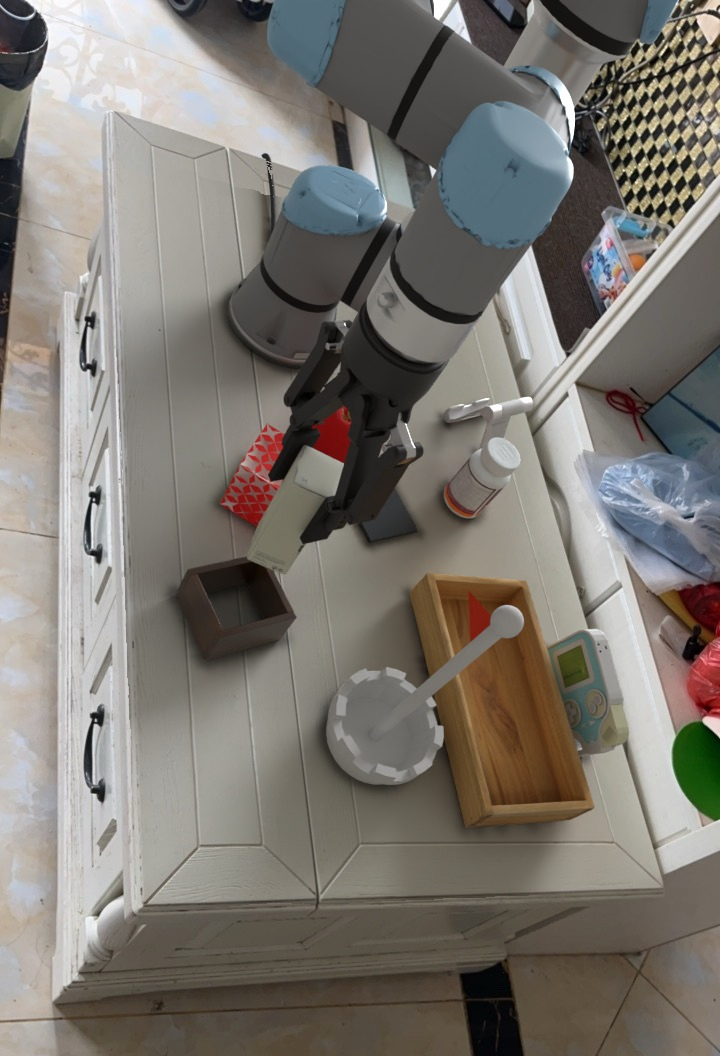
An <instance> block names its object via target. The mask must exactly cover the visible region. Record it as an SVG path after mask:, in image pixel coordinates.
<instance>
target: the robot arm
mask: <svg viewBox="0 0 720 1056" xmlns="http://www.w3.org/2000/svg"><path fill="white" fill-rule="evenodd" d="M679 1H680V0H532V3H533V13H532V15H531V17H530V18H529V20H528V22H527V24H526V25H525V27H524V29H523V31H522V33H521V34H520V36H519V38H518V40H517V42H516V43H515V45H514V47H513V49H512V50H511V52H510V54H509V55H508V57H507V59H506V61H505V63H504V65H502V64H500V63H499V62H498V61H496V60H495V59H494V58H492V57H491V56H489V55H488V54H486V53H485V52H484V51H482V50H481V49H480V48H478V47H477V46H476V45H474V44H473V43H471V42H470V41H468V40H467V39H466V38H464V37H463V36H462V35H460V34H458V33H457V32H456V31H455V30H454V29H453V28H451V27H450V26H448V25H446V24H445V23H444V22H445V20H446V19H447V17H448V16H449V15H450V13H451V12H452V10H453V9H454V7H455V6H456V4H458V2H459V0H273V3H272V6H271V10H270V13H269V17H268V21H267V28H266V29H267V30H266V39H267V44H268V47H269V49H270V52H271V53H272V54H273V56H274V57H275V58H277V59H278V60H279V61H280V62H282V63H283V64H284V65H285V66H287V67H288V68H289V69H290V70H292V71H293V72H294V73H296V74H297V75H298V76H300V77H301V78H302V79H303V80H305V82H306V84H307V86H309V87H310V88H313V89H314V88H315V89H316V90H318V91H320V92H321V93H323V94H324V95H325V96H327V97H329V99H332V100H333V101H335V102H336V103H337V104H339V105H340V106H342V107H344V108H345V109H346V110H348V111H350V112H351V113H352V114H354V115H356V116H357V117H358V118H360V119H362V120H363V121H365V122H366V123H368V124H369V125H371V126H372V127H373V128H375V129H376V130H378V131H380V132H381V133H383V134H384V135H385V136H386V137H388V138H389V139H390V140H392V141H394V142H395V143H397V144H398V145H399V146H401V147H402V148H404V149H405V150H407V152H409V153H411V154H412V155H414V156H415V157H417V158H418V159H419V160H421V161H422V162H424V164H426V165H428V166H430V167H431V168H432V169H434V170H435V172H434V174H433V175H432V178H431V180H430V181H429V183H428V185H427V187H426V188H425V191H424V192H423V193H422V196H421V197H420V200H419V202H418V204H417V206H416V207H415V210H414V211H412V212H409V213H407V214H406V215H405V216H404V217H403V219H402V221H401V223H400V224H399V223H397V222H396V221H394V220H393V219H391V217H389V216H387V214H388V213H387V212H388V203H387V199H386V197H385V195H384V193H382V192H380V188H379V186H378V185H377V184H375V183H374V182H373V181H372V180H371V179H369V178H368V177H366V176H364V175H363V174H361V173H359V172H356V171H355V170H352V169H351V168H350V169H349V168H346V167H343V166H338V165H332V164H329V165H324V164H323V165H320V164H319V165H314V166H311V167H308V168H306V169H304V170H303V171H301V172H300V173H299V174H298V175H297V176H296V178H295V179H294V181H293V183H292V185H291V187H290V189H289V191H288V193H287V195H285V197H284V199H283V201H282V203H281V208H280V209H281V210H280V212H279V214H278V217H277V199H276V198H277V197H276V188H275V180H274V173H273V174H272V179H271V175H270V173H269V170H268V167H270V170H273V163H272V164H271V163H268V162H266V161H269V162H272V158H271V156H270V154H268V153H267V152H264V153H262V154H261V155H260V156H261V158H262V159H264V160H265V163H266V169H267V179H268V187H269V198H270V200H269V201H270V237H269V239H268V242H267V245H266V246H265V249H264V252H263V254H262V257H261V258H260V261H259V262H258V263H257V264H256V266H254V267H253V268H252V269H251V271H250V272H249V273H248V274H247V275H246V277H245V278H243V279H242V280H241V281H240V282H239V283H238V284H237V286H236V287H235V288H234V289H233V291H232V293H231V296H230V298H229V302H228V305H227V316H228V320H229V324H230V326H231V328H232V330H233V332H234V333H235V335H236V336H237V337H238V339H239V340H240V341H241V342H242V343H243V344H244V345H245V347H247V348H248V349H249V350H250V351H252V352H253V353H254V354H255V355H257V356H259V357H261V358H262V359H264V360H266V361H268V362H270V363H272V364H275V365H278V366H281V367H286V368H292V369H299V370H298V372H297V373H296V375H295V377H294V378H293V380H292V381H291V383H290V385H289V386H288V388H287V389H286V391H285V392H284V395H283V404H284V406H285V407H286V408H290V411H291V415H290V416H289V425H288V427H287V429H286V430H285V433H284V434H285V435H284V436H283V438H282V443H281V444H282V446H283V448H282V450H281V452H280V454H279V456H278V458H277V459H276V461H275V463H274V465H273V467H272V468H271V470H270V472H269V474H268V476H269V478H270V480H271V482H272V481H278V480H283V479H284V478H285V476H286V475H287V473H288V471H289V469H290V467H291V466H292V464H293V462H294V460H295V459H296V457H297V455H298V454H299V452H300V450H301V449H302V447H303V446H304V445H307V446H309V447H311V448H313V447H314V445H315V444H316V442H317V440H318V439H319V437H320V435H321V434H320V432H319V430H318V428H312V427H313V426H314V425H321V424H325V423H323V422H322V421H324V420H325V419H327V418H328V417H329V416H331V415H332V414H333V413H335V412H336V411H338V410H339V409H340V408H342V407H343V406H345V407H346V408H347V410H348V411H349V414H350V417H351V420H352V421H351V424H350V428H349V431H348V438H349V439H350V440H351V441H350V445H349V448H348V452H347V455H346V459H345V462H344V466H343V469H342V473H341V476H340V480H339V483H338V487H337V490H336V494H335V495H334V496H329V497H326V498H325V500H324V501H323V503H322V504H321V506H320V507H319V509H318V510H317V512H316V513H315V515H314V516H313V518H312V519H311V521H310V522H309V524H308V525H307V527H306V528H305V530H304V531H303V533H302V534H301V536H300V537H299V538H300V540H301V542H302V544H306V545H308V544H312V543H315V542H316V543H317V542H321V541H324V540H327V539H328V538H329V537H330V535H331V534H332V533H333V532H334V531H338V530H342V529H345V526H346V525H347V524H348V525H349V526H352V525H353V526H354V525H357V524H359V523H363V522H367V521H372V520H375V519H376V517H377V516H378V514H379V513H380V511H381V509H382V508H383V506H384V505H385V503H386V501H387V500H388V498H389V497H390V495H391V493H392V492H393V490H394V489H396V487H397V485H398V484H399V482H400V481H401V479H402V477H403V476H404V474H405V472H406V471H407V470H408V467H409V466H410V465H412V464H413V463H414V462H416V461H418V460H419V459H420V458H422V457H423V455H424V452H425V451H424V446H423V444H422V443H421V442H419V441H417V442H413V440H412V437H411V435H410V432H409V429H408V426H407V425H408V424H409V422H410V420H411V416H412V411H413V409H414V406H415V404H417V403H418V402H419V401H420V400H421V399H422V398H423V397H424V396H425V395H427V393H428V392H429V391H430V390H431V388H432V387H433V385H434V384H435V382H436V381H437V380H438V379H439V377H440V376H441V374H442V373H443V371H444V370H445V369H446V367H447V366H448V364H449V363H450V360H451V358H453V357H454V356H455V354H457V353H458V351H459V349H460V348H461V346H462V345H463V343H464V342H465V341H466V339H467V338H468V336H469V335H470V333H471V332H472V331H473V329H474V328H475V326H476V324H477V323H478V322H479V321H480V319H481V318H482V316H483V313H484V312H485V311H486V309H487V308H488V306H489V304H490V303H491V301H492V300H493V298H494V297H495V295H497V293H498V291H499V290H500V289H501V288H502V286H503V285H504V284H505V282H506V281H507V280H508V278H509V276H510V275H511V273H512V272H513V270H514V269H515V268H516V267H517V265H519V263H520V262H521V260H522V259H523V257H524V256H525V254H526V253H527V252H528V251H529V249H530V247H531V246H532V245H533V243H534V242H535V241H536V239H537V238H538V237H540V236H542V235H543V234H544V232H545V231H546V230H547V228H548V227H549V225H550V224H551V222H552V217H553V216H554V214H555V213H556V212H557V210H558V207H559V205H560V204H561V202H562V201H563V199H564V198H565V196H566V194H567V193H568V191H569V189H570V187H571V185H572V182H573V180H574V179H573V178H574V164H573V162H572V160H571V159H570V157H569V155H570V152H571V148H572V142H573V139H574V134H575V133H574V132H575V122H576V120H575V116H576V115H575V108H576V106H577V105H578V103H579V102H580V101H581V99H582V97H583V95H584V94H585V92H586V91H587V89H588V88H589V86H590V85H591V83H592V82H593V80H594V79H595V77H596V76H597V74H598V73H599V71H600V70H601V68H602V66H603V65H604V64H606V63H609V62H614V61H617V60H621V59H624V58H626V57H627V56H628V54H629V53H630V51H631V49H632V48H633V47H634V45H635V44H636V42H637V41H638V42H639V43H640V44H642V45H644V44H647V45H652V44H654V42H656V40H657V39H658V37H659V35H660V34H661V32H662V30H663V29H664V27H665V26H666V24H667V22H668V21H669V20H670V18H671V16H672V14H673V12H674V10H675V9H676V7H677V5H678V3H679ZM267 164H269V165H267ZM270 165H272V166H270ZM267 166H268V167H267ZM271 168H272V169H271ZM272 185H273V186H272ZM273 196H274V197H273ZM340 302H341V303H343V304H344V305H346V306H348V308H350V309H352V310H354V311H355V312H357V314H356V315H355V317H354V319H353V321H352V320H350V319H348V320H347V319H346V320H337V315H338V305H339V304H340ZM339 366H340V367H339ZM338 367H339V372H337V373H336V376H335V377H333V378H331V377H332V375H334V373H335V371H336V369H337V368H338ZM330 379H331V380H330ZM385 443H387V444H385ZM381 451H382V453H381Z"/></svg>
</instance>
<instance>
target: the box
mask: <svg viewBox="0 0 720 1056" xmlns="http://www.w3.org/2000/svg"><path fill="white" fill-rule="evenodd" d="M343 466H344V463H342V462H340V461H337V460H335V459H333V458H332V457H330V456H327V455H325V454H323V453H322V452H319V451H317V450H315V449H313V448H311V447H309V446H307V445H304V446H303V447H302V449H301V450H300V452H299V454H298V455H297V457H296V459H295V460H294V462H293V464H292V466H291V467H290V469H289V471H288V473H287V475H286V476H285V478H284V480H283V482H282V483H281V485H280V487H279V489H278V490H277V492H276V494H275V496H274V497H273V499H272V501H271V503H270V505H269V506H268V508H267V510H266V512H265V513H264V515H263V517H262V519H261V520H260V522H259V524H258V526H256V529H255V532H254V534H253V537H252V539H251V542H250V545H249V549H248V551H247V555H246V556H247V559H248V560H251V561H253V562H255V563H257V564H260V565H262V566H264V567H267V568H269V569H271V570H274V572H275V573H278V574H282V575H286V574H288V572H289V571H290V569H291V567H292V565H293V564H294V562H295V561H296V560H297V558H298V556H299V555H300V554H301V552H302V551H303V549H304V548H305V546H306V545H307V544H302V542H301V540H300V538H299V537H300V536H301V534H302V533H303V531H304V530H305V528H306V527H307V525H308V524H309V522H310V521H311V519H312V518H313V516H314V515H315V513H316V512H317V510H318V509H319V507H320V506H321V504H322V503H323V501H324V500H325V498H326V497H329V496H334V495H335V494H336V490H337V487H338V483H339V480H340V476H341V473H342V469H343Z"/></svg>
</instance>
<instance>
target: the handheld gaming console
mask: <svg viewBox="0 0 720 1056" xmlns="http://www.w3.org/2000/svg"><path fill="white" fill-rule="evenodd" d="M546 647H547V650H548V654H549V657H550V660H551V664H552V667H553V671H554V674H555V677H556V681H557V684H558V687H559V691H560V694H561V697H562V700H563V704H564V707H565V710H566V714H567V717H568V721H569V724H570V727H571V730H572V734H573V737H574V741H575V744H576V747H577V750H578V754H579V757H580V758H581V757H586V756H589V755H590V756H592V755H599V754H606V753H609V752H611V751H614V750H615V748H616V747H618V746H620V745H621V746H622V745H624V744H625V743H627V741H628V739H629V736H630V735H629V734H630V729H629V723H628V720H627V717H626V713H625V710H624V703H625V702H624V701H625V700H624V692H623V689H622V685H621V682H620V678H619V675H618V671H617V668H616V664H615V661H614V657H613V653H612V649H611V645H610V642H609V638H608V637H607V635H606V634H605V632H603V630H601V629H598V628H586V629H585V628H584V629H579V630H577V631H575V632H573V633H571V634H569V635H566V636H565V637H563V638H561V639H559V640H557V641H555V642H554V643H551V644H549V645H546Z"/></svg>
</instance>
